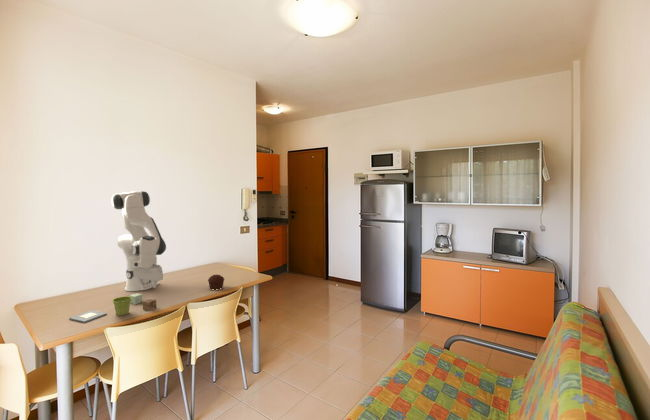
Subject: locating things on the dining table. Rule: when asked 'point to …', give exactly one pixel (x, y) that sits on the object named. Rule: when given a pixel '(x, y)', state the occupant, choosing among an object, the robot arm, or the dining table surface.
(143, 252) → the robot arm
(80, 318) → the pad
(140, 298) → the block
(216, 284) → the muffin
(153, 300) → the block
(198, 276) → the dining table surface
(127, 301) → the plant pot
